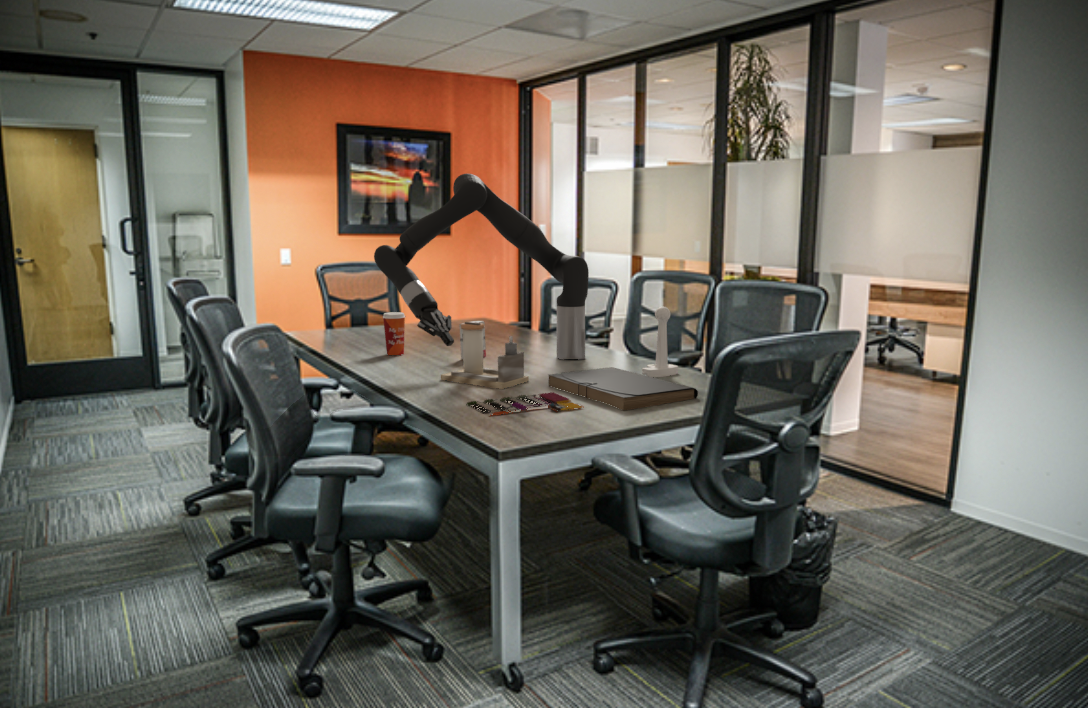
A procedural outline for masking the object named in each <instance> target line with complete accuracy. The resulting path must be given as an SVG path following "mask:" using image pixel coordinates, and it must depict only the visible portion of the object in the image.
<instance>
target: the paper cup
mask: <svg viewBox="0 0 1088 708" xmlns="http://www.w3.org/2000/svg"><path fill="white" fill-rule="evenodd" d="M405 318H406V315H405V313H404V312H401V311H400V312H399V311H398V312H397V311H396V312H395V311H392V312H389V311H388V312H384V313H383V316H382V319H383V326H384V328H383V329H384V339H385V349H386V355H387V354H388V355H387V356H389V355H400V356H402V355H401V354H403V355H404V354H405V332H406V331H405V327H406V324H405V322H406V320H405Z"/></svg>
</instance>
